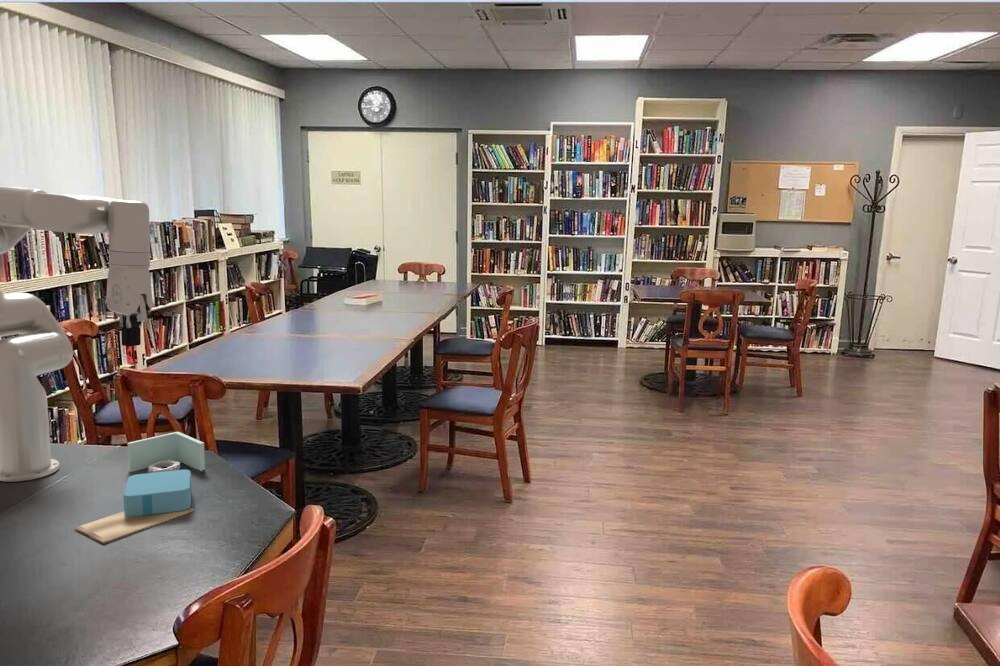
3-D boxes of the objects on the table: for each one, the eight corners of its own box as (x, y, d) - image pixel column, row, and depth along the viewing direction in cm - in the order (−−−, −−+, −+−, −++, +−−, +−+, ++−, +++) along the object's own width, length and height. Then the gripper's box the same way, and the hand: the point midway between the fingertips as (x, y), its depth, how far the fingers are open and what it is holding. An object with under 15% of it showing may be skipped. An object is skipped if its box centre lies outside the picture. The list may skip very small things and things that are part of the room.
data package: (123, 518, 131) (190, 510, 136) (122, 497, 130) (189, 489, 135) (129, 494, 142) (191, 487, 146) (128, 474, 141) (190, 468, 146)
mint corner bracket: (128, 473, 156) (127, 442, 154) (178, 460, 165) (177, 431, 164) (154, 487, 149) (152, 455, 147) (204, 472, 158) (204, 442, 157)
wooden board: (75, 529, 126) (74, 527, 126) (164, 498, 141) (164, 496, 141) (103, 544, 121) (103, 541, 121) (193, 511, 136) (193, 508, 136)
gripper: (93, 256, 140) (95, 341, 143) (130, 263, 132) (132, 353, 135) (129, 256, 146) (130, 338, 149) (167, 263, 138) (167, 349, 141)
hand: (131, 345), depth 142 cm, fingers closed
